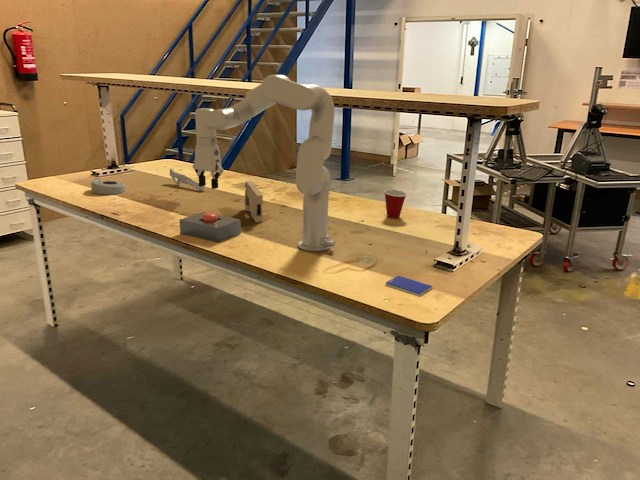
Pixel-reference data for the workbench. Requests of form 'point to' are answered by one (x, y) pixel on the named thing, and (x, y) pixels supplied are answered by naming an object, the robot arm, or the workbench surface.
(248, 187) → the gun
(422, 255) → the workbench surface
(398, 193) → the plastic cup
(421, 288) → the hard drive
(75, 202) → the workbench surface
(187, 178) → the gun
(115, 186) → the turbocharger housing
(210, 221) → the button
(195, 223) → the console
